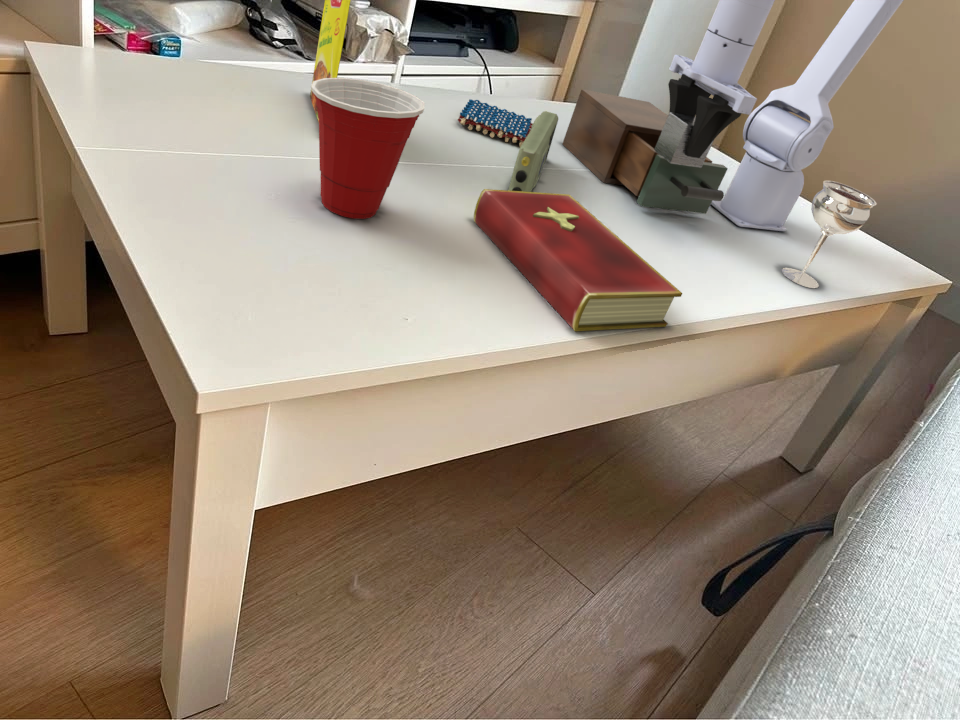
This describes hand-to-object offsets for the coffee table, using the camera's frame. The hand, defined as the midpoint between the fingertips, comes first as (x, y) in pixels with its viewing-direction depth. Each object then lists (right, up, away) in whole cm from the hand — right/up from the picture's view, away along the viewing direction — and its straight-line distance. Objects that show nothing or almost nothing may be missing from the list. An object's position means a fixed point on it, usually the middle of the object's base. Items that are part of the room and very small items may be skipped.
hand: (682, 148), depth 96 cm
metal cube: (0, -1, +1) cm, 1 cm away
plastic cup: (-39, -11, -17) cm, 44 cm away
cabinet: (-5, +3, +20) cm, 20 cm away
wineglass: (+16, -16, +3) cm, 23 cm away
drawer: (0, -4, +11) cm, 12 cm away
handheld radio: (-20, -4, +3) cm, 20 cm away
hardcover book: (-17, -17, -15) cm, 29 cm away
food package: (-46, +4, +2) cm, 46 cm away
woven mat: (-23, +8, +19) cm, 31 cm away
